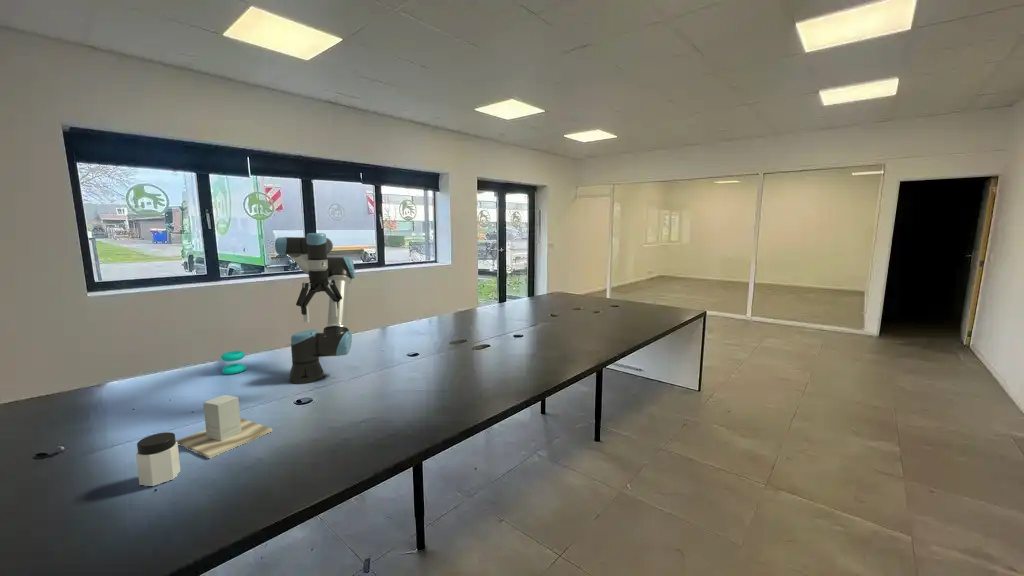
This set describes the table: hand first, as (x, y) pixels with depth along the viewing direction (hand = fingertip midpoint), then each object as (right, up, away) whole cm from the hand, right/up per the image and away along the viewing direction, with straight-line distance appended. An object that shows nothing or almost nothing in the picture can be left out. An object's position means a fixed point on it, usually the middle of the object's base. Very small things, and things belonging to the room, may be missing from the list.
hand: (321, 319), depth 174 cm
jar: (-18, -41, -58) cm, 74 cm away
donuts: (-60, -30, +33) cm, 75 cm away
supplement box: (-17, -37, -35) cm, 54 cm away
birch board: (-16, -38, -35) cm, 54 cm away
